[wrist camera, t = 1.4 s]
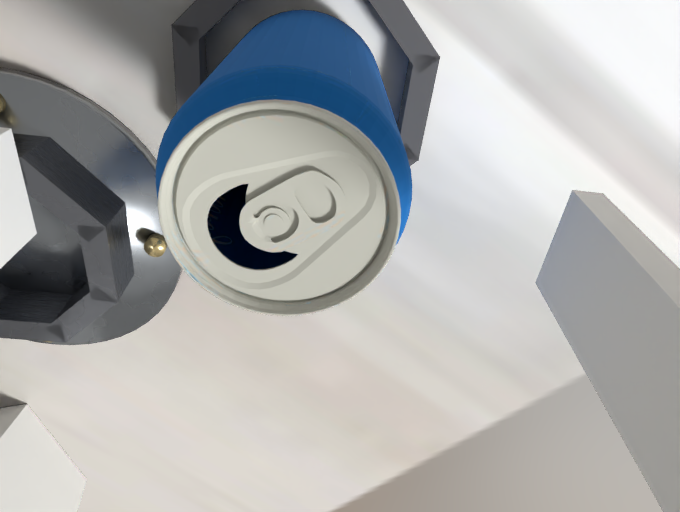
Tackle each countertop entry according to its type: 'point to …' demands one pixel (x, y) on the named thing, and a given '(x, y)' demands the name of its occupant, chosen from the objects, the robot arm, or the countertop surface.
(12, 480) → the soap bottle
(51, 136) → the hub socket
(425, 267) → the countertop surface
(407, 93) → the stand ring
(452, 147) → the countertop surface
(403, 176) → the beverage can
